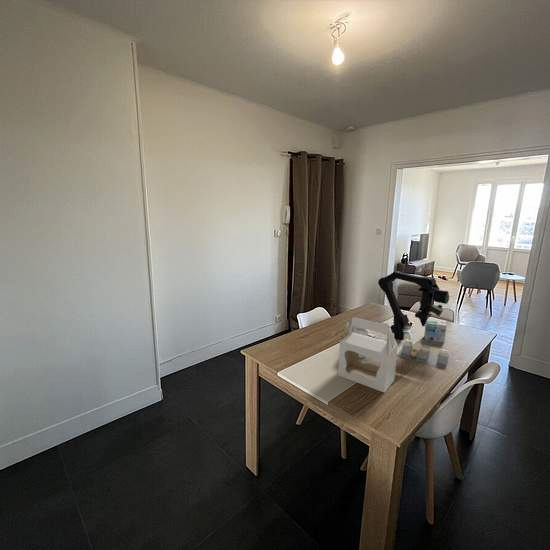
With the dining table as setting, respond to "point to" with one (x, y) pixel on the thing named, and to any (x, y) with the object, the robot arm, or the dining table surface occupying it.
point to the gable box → (368, 355)
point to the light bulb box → (435, 331)
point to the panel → (426, 358)
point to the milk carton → (362, 332)
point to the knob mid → (425, 348)
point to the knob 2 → (443, 353)
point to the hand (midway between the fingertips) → (423, 326)
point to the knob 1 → (407, 344)
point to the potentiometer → (413, 354)
